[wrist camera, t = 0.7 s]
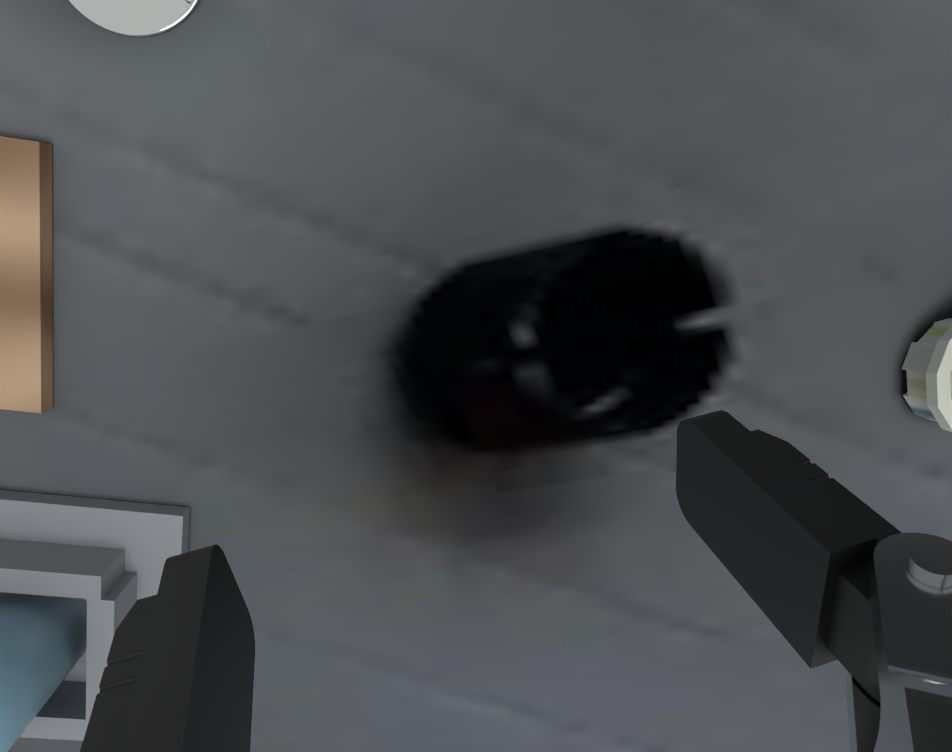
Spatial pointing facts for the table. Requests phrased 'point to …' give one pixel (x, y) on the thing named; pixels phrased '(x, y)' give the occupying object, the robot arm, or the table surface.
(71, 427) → the table surface
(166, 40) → the table surface
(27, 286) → the light brown wooden board
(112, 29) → the wineglass
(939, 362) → the toothbrush head
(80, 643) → the filter cartridge
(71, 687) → the cartridge housing
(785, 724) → the table surface
